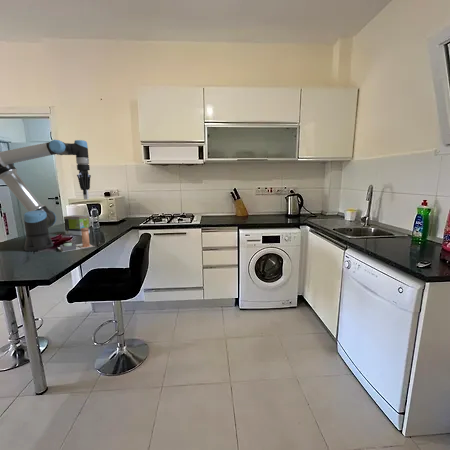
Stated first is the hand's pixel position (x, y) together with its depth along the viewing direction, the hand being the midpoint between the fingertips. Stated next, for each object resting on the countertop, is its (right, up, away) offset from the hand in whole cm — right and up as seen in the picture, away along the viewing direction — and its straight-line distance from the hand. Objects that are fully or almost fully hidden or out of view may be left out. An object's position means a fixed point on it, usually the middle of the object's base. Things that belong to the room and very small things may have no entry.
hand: (86, 199), depth 184 cm
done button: (0, -32, -22) cm, 38 cm away
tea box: (-21, -25, +28) cm, 44 cm away
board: (+2, -33, -16) cm, 36 cm away
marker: (+8, -31, -15) cm, 35 cm away
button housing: (0, -34, -21) cm, 40 cm away
